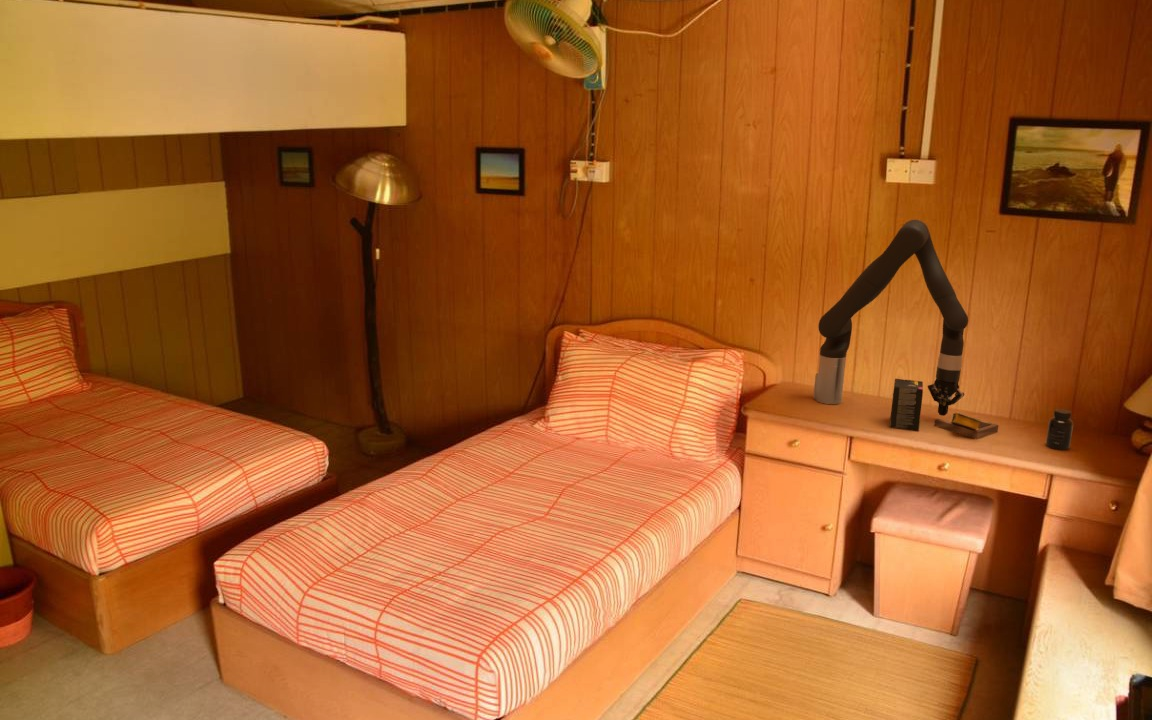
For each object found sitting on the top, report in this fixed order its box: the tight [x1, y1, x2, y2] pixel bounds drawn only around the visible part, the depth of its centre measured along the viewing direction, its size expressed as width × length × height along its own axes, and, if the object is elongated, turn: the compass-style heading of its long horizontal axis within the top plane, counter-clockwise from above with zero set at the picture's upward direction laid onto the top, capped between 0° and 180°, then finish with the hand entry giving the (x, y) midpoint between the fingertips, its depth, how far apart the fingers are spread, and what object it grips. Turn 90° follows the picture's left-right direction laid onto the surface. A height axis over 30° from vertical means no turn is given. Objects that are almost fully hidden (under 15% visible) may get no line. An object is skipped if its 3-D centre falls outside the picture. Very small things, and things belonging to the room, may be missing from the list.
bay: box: [933, 412, 999, 440], centre depth 307 cm, size 16×12×2 cm
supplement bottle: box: [1045, 408, 1074, 451], centre depth 291 cm, size 7×7×12 cm
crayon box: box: [951, 412, 981, 430], centre depth 302 cm, size 7×3×12 cm
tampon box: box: [889, 378, 924, 432], centre depth 308 cm, size 11×9×15 cm
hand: (942, 414), depth 314 cm, fingers closed
